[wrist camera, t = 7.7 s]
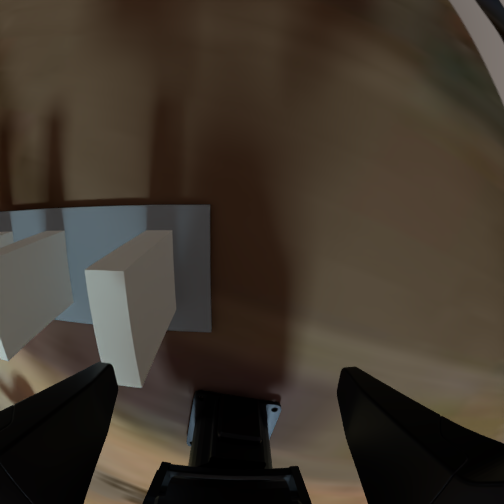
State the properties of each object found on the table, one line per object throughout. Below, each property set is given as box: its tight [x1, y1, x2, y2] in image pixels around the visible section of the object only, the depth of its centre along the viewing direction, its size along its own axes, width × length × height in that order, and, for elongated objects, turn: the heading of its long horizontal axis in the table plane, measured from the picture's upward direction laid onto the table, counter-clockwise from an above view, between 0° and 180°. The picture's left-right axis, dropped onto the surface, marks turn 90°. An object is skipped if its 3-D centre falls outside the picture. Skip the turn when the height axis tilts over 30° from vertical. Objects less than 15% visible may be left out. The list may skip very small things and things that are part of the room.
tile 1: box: [0, 231, 74, 361], centre depth 14 cm, size 2×5×8 cm, turn 178°
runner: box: [0, 205, 212, 332], centre depth 18 cm, size 30×8×1 cm, turn 89°
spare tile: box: [85, 230, 176, 388], centre depth 14 cm, size 2×5×8 cm, turn 179°
